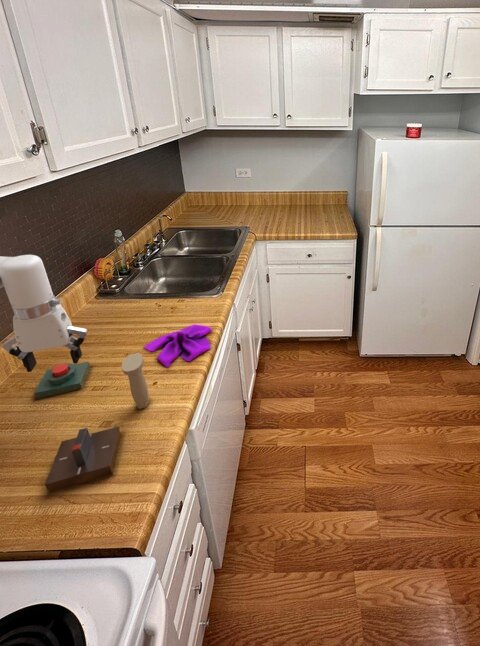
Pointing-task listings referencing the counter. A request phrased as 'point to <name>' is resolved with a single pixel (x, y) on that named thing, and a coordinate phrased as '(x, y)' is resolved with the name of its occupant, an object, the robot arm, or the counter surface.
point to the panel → (95, 466)
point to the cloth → (181, 344)
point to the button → (60, 370)
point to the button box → (63, 381)
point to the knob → (81, 446)
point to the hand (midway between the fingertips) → (55, 363)
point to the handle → (136, 379)
